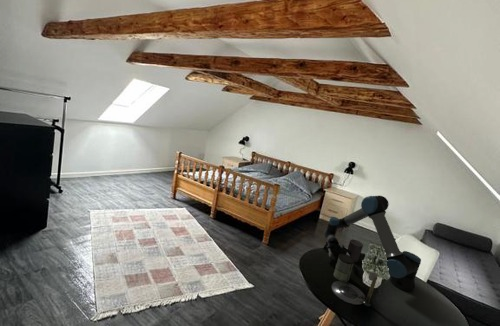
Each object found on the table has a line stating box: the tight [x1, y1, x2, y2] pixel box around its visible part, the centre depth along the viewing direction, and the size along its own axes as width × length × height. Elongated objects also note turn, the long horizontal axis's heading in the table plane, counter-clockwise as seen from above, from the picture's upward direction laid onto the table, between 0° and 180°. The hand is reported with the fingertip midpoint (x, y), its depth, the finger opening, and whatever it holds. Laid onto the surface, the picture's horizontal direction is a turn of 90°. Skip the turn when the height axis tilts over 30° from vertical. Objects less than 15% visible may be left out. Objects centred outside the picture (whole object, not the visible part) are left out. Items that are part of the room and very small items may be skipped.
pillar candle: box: [347, 238, 364, 263], centre depth 212 cm, size 10×10×15 cm
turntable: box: [331, 280, 366, 306], centre depth 171 cm, size 20×20×1 cm
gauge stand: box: [362, 271, 379, 308], centre depth 162 cm, size 5×4×19 cm
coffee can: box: [333, 253, 356, 283], centre depth 185 cm, size 10×10×14 cm
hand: (340, 257), depth 195 cm, fingers open, 13 cm apart
